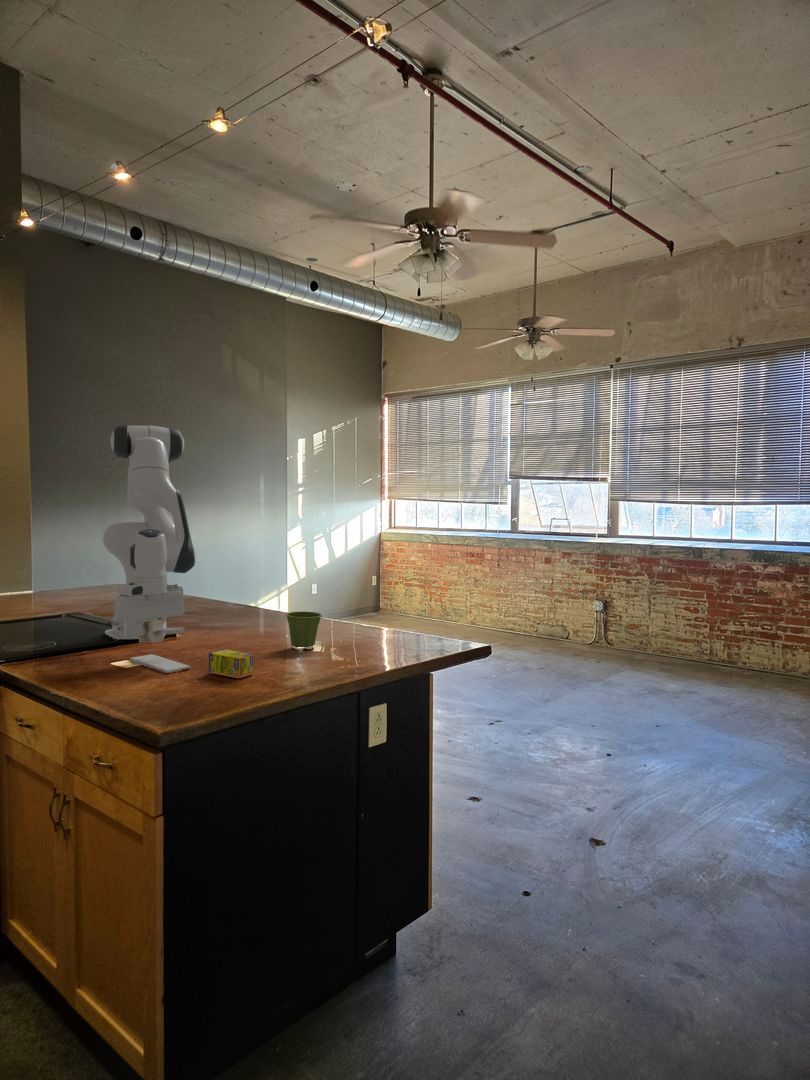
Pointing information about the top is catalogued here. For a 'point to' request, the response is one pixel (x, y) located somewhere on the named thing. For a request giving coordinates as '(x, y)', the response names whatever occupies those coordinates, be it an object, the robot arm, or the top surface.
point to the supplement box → (230, 662)
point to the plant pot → (303, 628)
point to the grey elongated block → (156, 631)
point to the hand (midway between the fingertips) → (150, 634)
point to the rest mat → (159, 663)
